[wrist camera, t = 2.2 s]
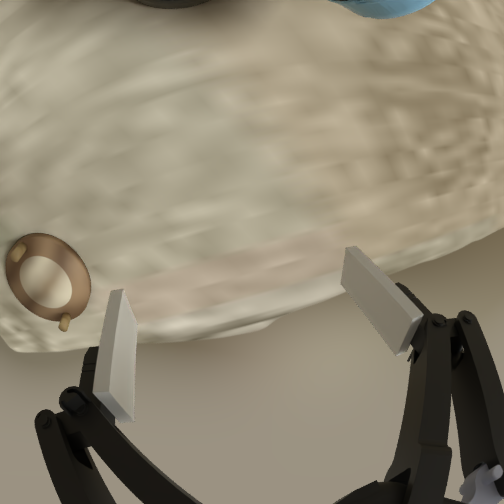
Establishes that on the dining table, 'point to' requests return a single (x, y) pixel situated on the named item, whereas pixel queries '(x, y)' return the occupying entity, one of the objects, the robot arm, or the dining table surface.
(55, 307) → the plate
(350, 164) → the dining table surface
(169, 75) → the dining table surface
